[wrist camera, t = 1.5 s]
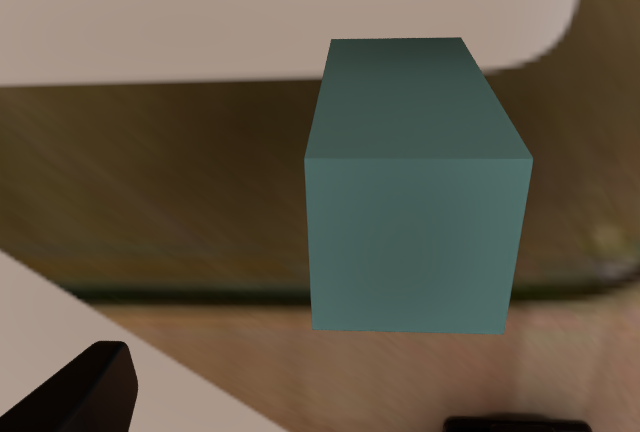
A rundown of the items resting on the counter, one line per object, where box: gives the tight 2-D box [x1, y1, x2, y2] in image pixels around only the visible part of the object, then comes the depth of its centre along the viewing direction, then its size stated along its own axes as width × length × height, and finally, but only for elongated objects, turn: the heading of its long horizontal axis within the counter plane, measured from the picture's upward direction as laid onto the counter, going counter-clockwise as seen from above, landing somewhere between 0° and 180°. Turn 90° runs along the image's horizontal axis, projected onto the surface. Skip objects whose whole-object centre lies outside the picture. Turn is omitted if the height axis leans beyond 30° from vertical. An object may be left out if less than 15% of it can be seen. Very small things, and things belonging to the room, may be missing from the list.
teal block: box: [304, 38, 533, 334], centre depth 15 cm, size 4×4×9 cm
